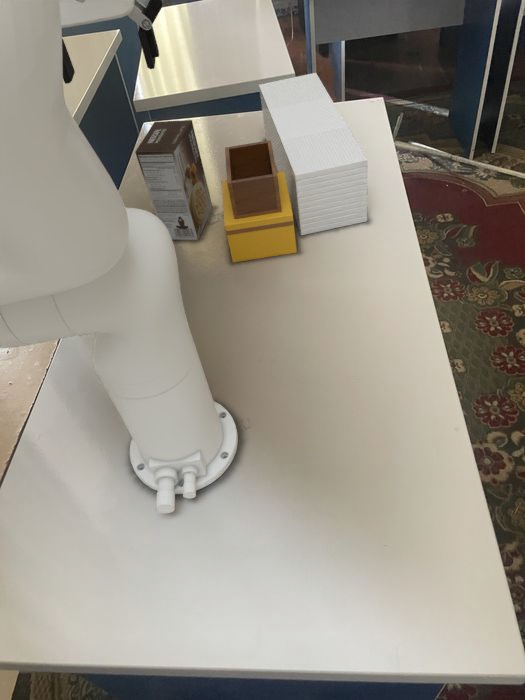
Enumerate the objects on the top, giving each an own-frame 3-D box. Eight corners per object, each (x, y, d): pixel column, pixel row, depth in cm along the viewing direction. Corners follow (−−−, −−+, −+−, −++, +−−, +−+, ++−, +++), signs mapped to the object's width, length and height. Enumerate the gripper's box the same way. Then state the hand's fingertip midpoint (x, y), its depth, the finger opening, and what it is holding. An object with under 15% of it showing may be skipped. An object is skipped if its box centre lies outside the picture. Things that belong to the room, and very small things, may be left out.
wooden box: (282, 212, 82) (277, 175, 78) (234, 219, 83) (227, 183, 78) (275, 175, 89) (270, 139, 85) (231, 182, 90) (224, 147, 85)
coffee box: (179, 207, 99) (154, 119, 87) (213, 208, 98) (193, 118, 86) (162, 240, 94) (133, 151, 82) (199, 241, 92) (175, 150, 80)
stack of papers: (367, 221, 90) (367, 159, 82) (301, 235, 90) (295, 175, 82) (319, 128, 111) (315, 72, 103) (266, 139, 111) (258, 84, 103)
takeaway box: (297, 253, 87) (293, 214, 82) (232, 262, 87) (224, 225, 82) (288, 207, 95) (284, 170, 90) (229, 217, 95) (221, 180, 90)
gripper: (-51, -92, 51) (32, 98, 63) (138, -127, 50) (184, 72, 62) (-29, -108, 56) (44, 70, 68) (144, -141, 55) (185, 46, 67)
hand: (111, 71), depth 65 cm, fingers open, 9 cm apart
